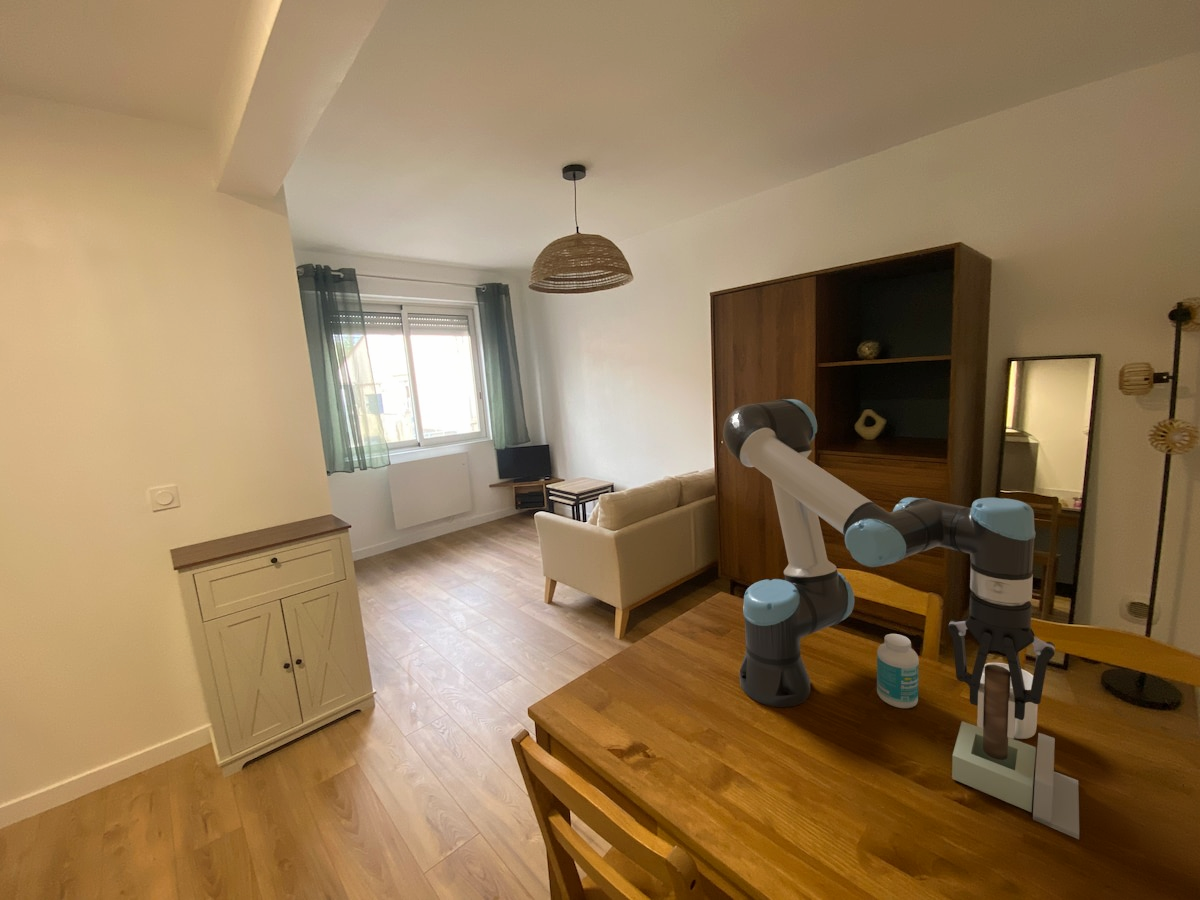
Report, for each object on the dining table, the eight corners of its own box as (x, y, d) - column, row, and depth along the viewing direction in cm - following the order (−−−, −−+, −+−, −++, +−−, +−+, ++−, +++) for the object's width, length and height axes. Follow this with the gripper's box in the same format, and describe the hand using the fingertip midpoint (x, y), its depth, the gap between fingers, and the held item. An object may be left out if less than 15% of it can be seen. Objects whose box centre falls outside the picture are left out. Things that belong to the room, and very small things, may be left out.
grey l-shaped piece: (1032, 819, 73) (1034, 779, 72) (1036, 769, 81) (1038, 732, 80) (1079, 839, 69) (1081, 797, 68) (1077, 784, 77) (1080, 746, 76)
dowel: (981, 753, 80) (983, 671, 77) (984, 742, 82) (986, 662, 80) (1006, 763, 77) (1009, 679, 75) (1008, 750, 79) (1011, 669, 77)
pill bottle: (907, 715, 95) (907, 654, 93) (870, 696, 102) (869, 638, 100) (925, 699, 99) (925, 640, 97) (888, 682, 106) (888, 626, 104)
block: (951, 778, 80) (952, 755, 80) (961, 742, 87) (961, 721, 87) (1031, 812, 73) (1032, 787, 73) (1034, 770, 80) (1036, 747, 80)
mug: (1050, 761, 82) (1053, 708, 81) (989, 747, 86) (991, 696, 85) (1028, 715, 93) (1030, 667, 91) (975, 705, 97) (976, 658, 95)
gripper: (933, 592, 78) (932, 719, 82) (1071, 620, 67) (1063, 766, 71) (942, 576, 84) (940, 696, 87) (1071, 599, 72) (1064, 736, 76)
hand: (995, 727), depth 79 cm, fingers closed on dowel, 3 cm apart
